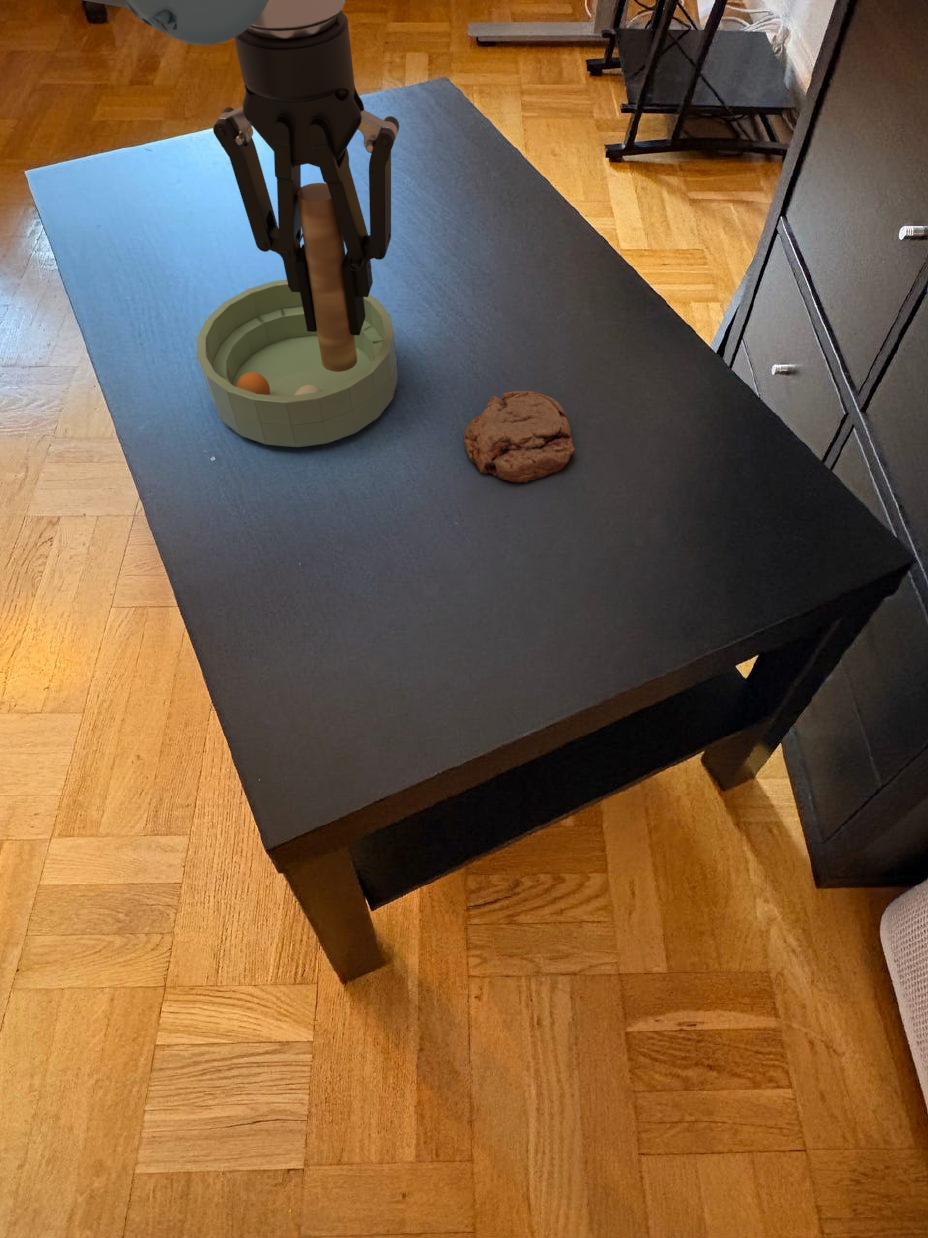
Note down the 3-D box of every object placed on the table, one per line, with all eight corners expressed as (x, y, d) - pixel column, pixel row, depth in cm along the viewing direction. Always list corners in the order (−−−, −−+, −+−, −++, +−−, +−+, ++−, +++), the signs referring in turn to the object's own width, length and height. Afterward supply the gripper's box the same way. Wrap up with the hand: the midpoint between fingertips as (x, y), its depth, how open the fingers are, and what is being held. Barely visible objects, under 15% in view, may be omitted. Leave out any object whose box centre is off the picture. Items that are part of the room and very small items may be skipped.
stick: (317, 370, 75) (291, 200, 64) (326, 349, 77) (302, 181, 66) (353, 373, 75) (333, 202, 63) (360, 352, 77) (342, 183, 65)
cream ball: (330, 383, 76) (314, 405, 74) (335, 407, 78) (319, 429, 77) (301, 373, 76) (284, 395, 75) (306, 398, 79) (290, 420, 78)
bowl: (189, 444, 77) (169, 392, 72) (243, 324, 87) (229, 271, 82) (378, 461, 75) (372, 409, 71) (411, 337, 85) (407, 284, 80)
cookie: (574, 406, 79) (577, 381, 77) (572, 489, 73) (576, 464, 71) (468, 401, 80) (468, 375, 77) (458, 482, 74) (458, 458, 71)
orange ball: (264, 385, 76) (235, 399, 76) (278, 403, 78) (250, 417, 79) (256, 360, 77) (226, 374, 77) (270, 379, 80) (242, 392, 80)
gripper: (421, -4, 56) (434, 304, 75) (186, -15, 57) (258, 291, 77) (402, 45, 52) (421, 358, 71) (148, 32, 53) (234, 343, 73)
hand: (336, 323), depth 74 cm, fingers closed on stick, 3 cm apart
